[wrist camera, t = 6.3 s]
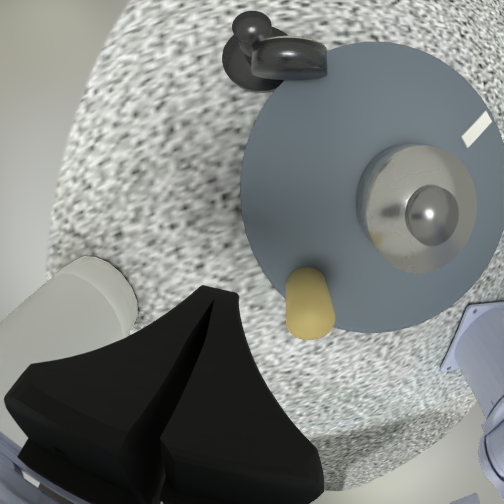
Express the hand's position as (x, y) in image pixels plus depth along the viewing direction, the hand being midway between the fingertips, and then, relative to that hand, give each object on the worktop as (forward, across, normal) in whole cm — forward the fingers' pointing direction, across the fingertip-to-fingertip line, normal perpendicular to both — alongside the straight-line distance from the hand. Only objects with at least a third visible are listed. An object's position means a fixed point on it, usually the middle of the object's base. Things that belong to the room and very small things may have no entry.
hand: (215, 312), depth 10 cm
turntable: (+8, -8, -5) cm, 12 cm away
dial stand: (+10, +1, -11) cm, 14 cm away
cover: (+6, -9, -5) cm, 12 cm away
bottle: (+10, +11, +9) cm, 17 cm away
